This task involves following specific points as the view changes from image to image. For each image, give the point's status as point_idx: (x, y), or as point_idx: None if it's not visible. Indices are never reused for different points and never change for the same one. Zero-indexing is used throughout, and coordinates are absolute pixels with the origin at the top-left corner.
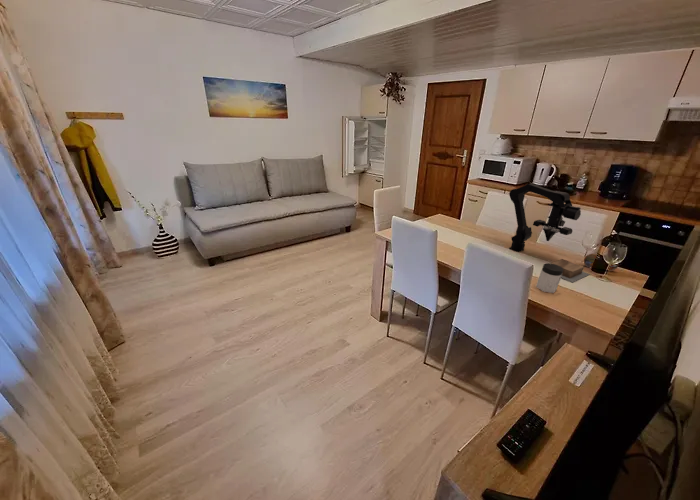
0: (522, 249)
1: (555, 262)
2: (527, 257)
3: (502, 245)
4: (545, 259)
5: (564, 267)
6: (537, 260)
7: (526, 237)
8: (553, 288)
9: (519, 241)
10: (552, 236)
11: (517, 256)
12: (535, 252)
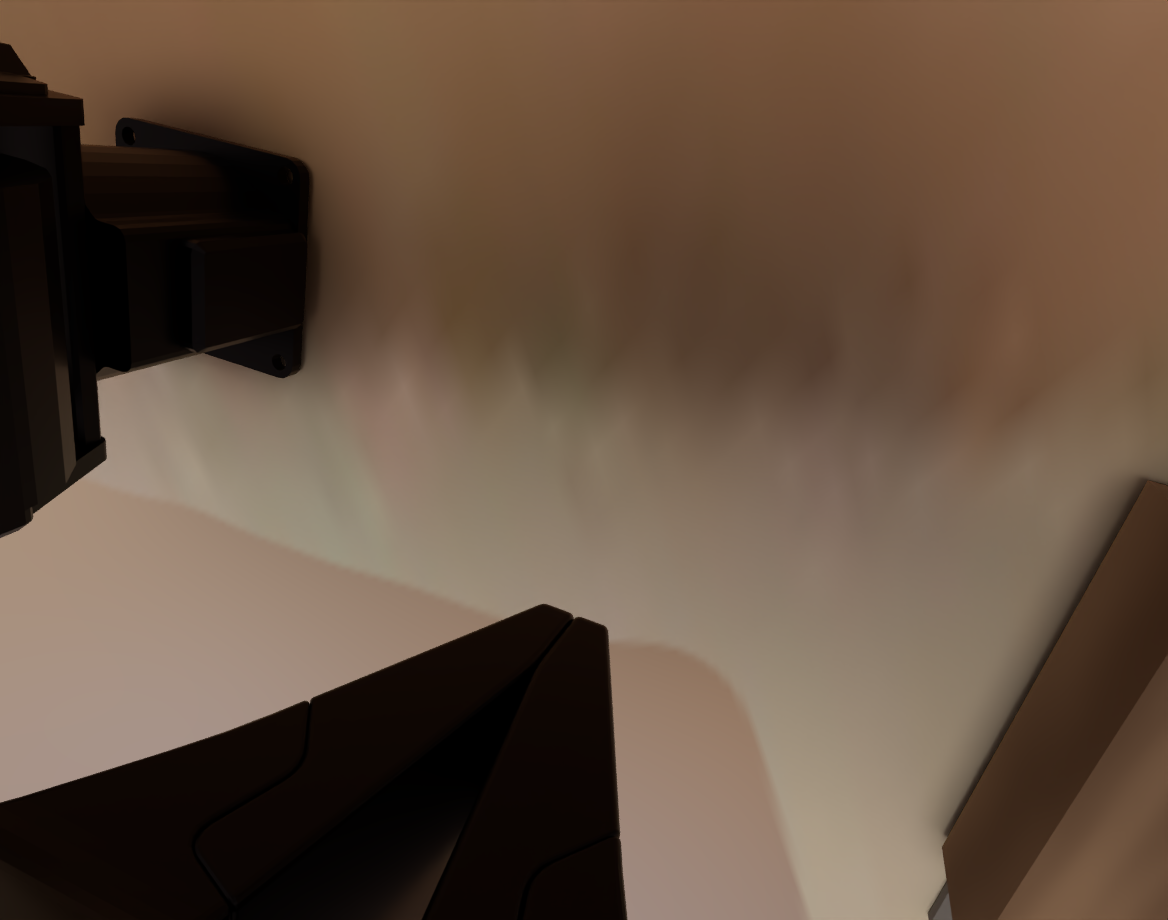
0: (285, 292)
1: (1057, 893)
2: (497, 493)
3: None
4: (785, 327)
5: None
6: (672, 509)
7: (8, 462)
8: None
9: (76, 479)
10: (615, 830)
11: (379, 567)
12: (496, 50)
